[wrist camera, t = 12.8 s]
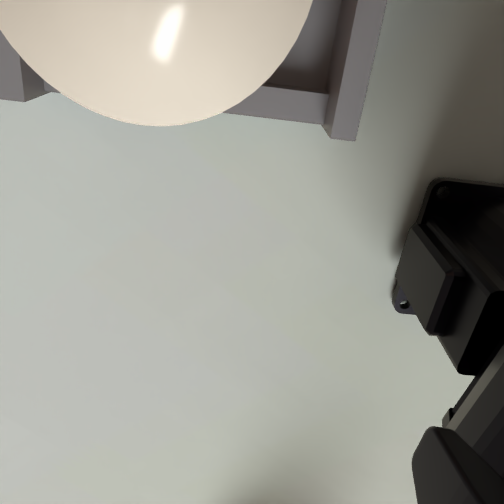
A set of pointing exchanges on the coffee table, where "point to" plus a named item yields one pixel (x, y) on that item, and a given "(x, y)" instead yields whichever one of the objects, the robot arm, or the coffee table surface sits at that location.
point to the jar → (154, 52)
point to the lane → (281, 70)
